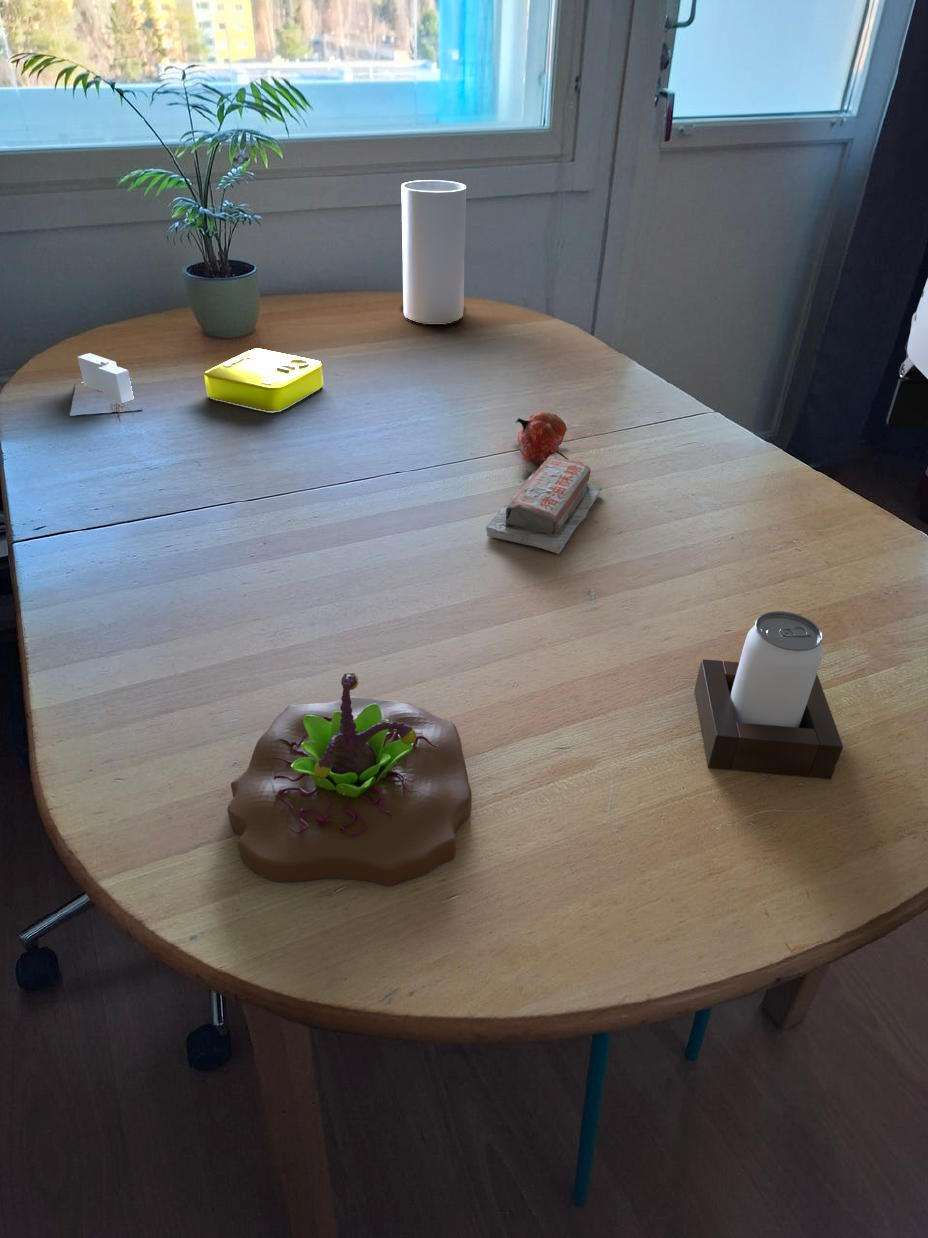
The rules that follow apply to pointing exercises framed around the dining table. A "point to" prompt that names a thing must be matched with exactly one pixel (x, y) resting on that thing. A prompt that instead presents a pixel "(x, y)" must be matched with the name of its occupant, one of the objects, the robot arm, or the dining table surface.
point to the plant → (351, 792)
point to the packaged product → (547, 506)
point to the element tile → (264, 379)
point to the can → (777, 670)
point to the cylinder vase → (433, 250)
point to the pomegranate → (540, 436)
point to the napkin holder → (106, 377)
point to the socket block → (763, 731)
